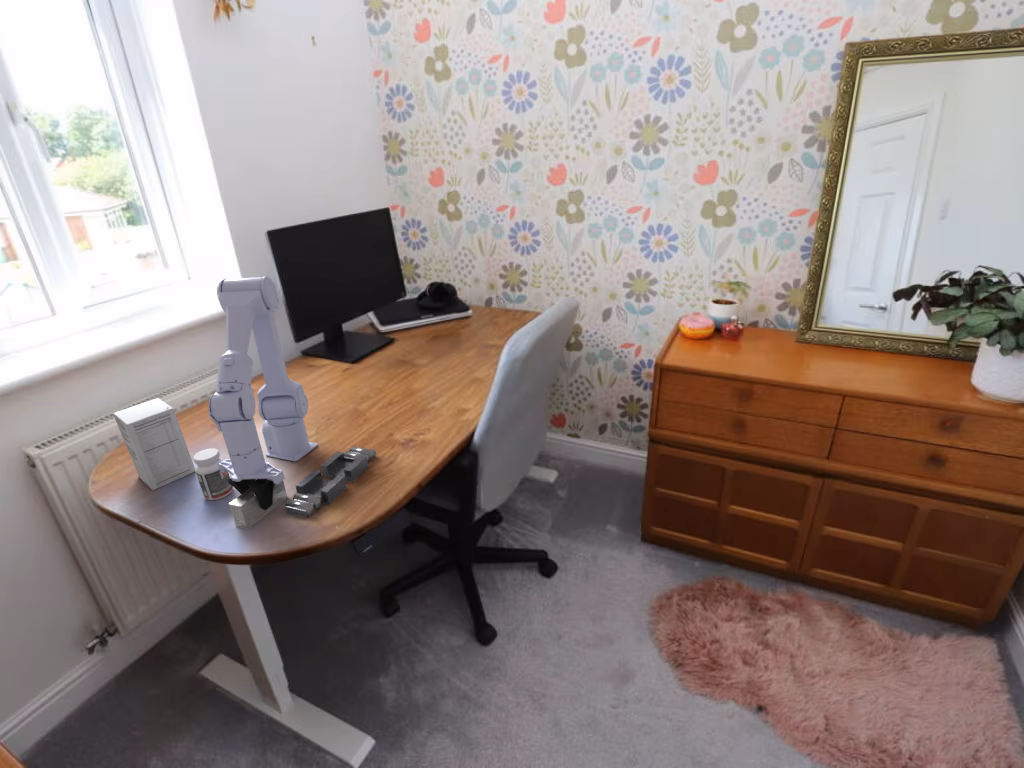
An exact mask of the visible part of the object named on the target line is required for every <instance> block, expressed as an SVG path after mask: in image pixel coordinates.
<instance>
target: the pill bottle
mask: <svg viewBox="0 0 1024 768" xmlns="http://www.w3.org/2000/svg"><path fill="white" fill-rule="evenodd" d="M224 460H225V459H223V458H222V457H221V454H220V451H219V450H218V449H217V448H214V447H213V448H206V449H203V450H200V451H198V452H196V453H195V454H194V456H193V462H194V463H195V464H196V465H195V466H194V467H195V472H194V473H195V475H196V478H197V481H198V484H199V486H200V489H201V493H202V495H203V498H204V499H206V500H208V501H216V500H221V499H223V498H225V497H227V496H228V495H230V494H231V493H232V492H233V489H234V487H233V486H232V485H230V484H229V482H228V480H229V479H230V478H231V476H230V473H229V472H228V471H226V472H221V471H220V468H219V465H218V464H219V463H221V462H222V461H224Z"/></svg>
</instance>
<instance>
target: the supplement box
mask: <svg viewBox="0 0 1024 768" xmlns="http://www.w3.org/2000/svg"><path fill="white" fill-rule="evenodd" d="M112 415H113V418H114V420H115V422H116V425H117V427H118V430H119V432H120V435H121V437H122V439H123V441H124V444H125V447H126V450H127V452H128V454H129V456H130V458H131V461H132V463H133V466H134V468H135V470H136V474H137V475H138V477H139V479H140V480H142V482H143V483H144V484H145V485H147V486H148V488H150V489H151V490H152V491H155V490H157V489H160V488H161V487H164V486H166V485H168V484H170V483H173V482H175V481H177V480H179V479H182V478H184V477H186V476H188V475H191V474H193V473H196V472H195V467H196V466H195V465H194V461H193V459H192V456H191V454H190V451H189V448H188V446H187V443H186V440H185V437H184V435H183V432H182V429H181V427H180V423H179V421H178V418H177V415H176V413H175V409H174V408H173V407H172V406H171V405H169V404H168V403H166V402H165V401H163V400H161V398H159V397H157V398H154V399H151V400H148V401H147V400H146V401H145V402H142V403H139V404H136V405H133V406H130V407H127V408H124V409H121V410H118V411H116V412H113V413H112Z"/></svg>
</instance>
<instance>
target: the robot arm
mask: <svg viewBox="0 0 1024 768" xmlns="http://www.w3.org/2000/svg"><path fill="white" fill-rule="evenodd" d="M216 294H217V295H216V296H217V299H218V301H219V305H220V307H221V309H222V310H223V312H224V313H225V314H226V317H225V318H226V320H225V321H226V322H225V323H226V327H225V328H226V329H225V330H226V352H225V353H223V354H222V355H220V357H219V359H218V360H219V361H218V370H217V379H216V388H215V393H214V394H212V395H211V396H210V397H209V401H208V411H209V413H208V415H209V418H210V419H211V421H212V422H213V423H214V424H215V425H216V429H217V430H218V431H219V432H221V433H222V436H223V440H224V443H225V448H226V449H227V453H228V456H229V459H228V458H225V459H223V460H224V461H222V462H221V463H219V464H218V465H219V468H220V471H221V472H226V471H228V473H229V475H231V476H230V479H229V480H228V482H229V484H230V485H232V486H233V489H236V491H237V492H238V493H239V495H241V494H242V493H244V492H245V491H246V490H248V489H249V488H250V489H251V490H252V491H253V492H254V493H255V495H256V496H257V498H258V501H259V503H260V506H261V507H262V509H263V510H267V509H268V508H269V507H270V506H271V505H273V490H274V486H275V484H279V483H280V482H281V481H284V480H285V479H286V478H285V474H284V471H283V470H281V469H278V468H277V467H275V466H273V464H270V462H268V461H266V460H265V456H266V457H272V458H276V459H282V460H286V461H292V462H297V461H299V460H301V458H303V457H304V456H306V455H307V454H309V453H310V452H311V451H313V449H315V448H316V447H318V446H319V445H318V443H317V442H312V441H309V437H308V434H307V433H308V432H307V428H306V424H305V420H304V418H305V417H306V415H307V414H308V411H309V401H308V397H307V394H306V393H305V390H304V387H303V385H302V384H301V383H299V382H297V381H296V380H292V379H291V378H289V377H288V372H287V368H286V363H285V359H284V355H283V350H282V345H281V341H280V336H279V331H278V328H277V327H278V325H277V322H276V318H275V312H277V311H279V310H280V309H281V307H280V300H279V296H278V295H279V294H278V290H277V286H276V284H275V282H274V281H273V280H272V279H271V277H270V276H267V275H263V276H262V277H261V276H259V277H257V276H256V277H243V278H242V277H241V278H239V277H238V278H221V279H220V280H219V282H218V283H217V286H216ZM252 333H253V337H254V341H255V345H256V349H257V353H258V358H259V362H260V366H261V371H262V375H263V378H264V384H263V385H262V386H261V387H260V388H259V390H258V391H257V394H256V397H257V405H256V398H255V391H254V388H252V378H253V376H252V375H253V365H254V364H253V363H254V361H253V359H252V357H250V355H249V354H248V350H249V345H250V340H251V335H252ZM256 407H257V411H258V414H259V416H260V418H261V419H262V420H263V423H262V430H261V432H262V436H263V439H264V442H265V443H264V444H265V446H266V450H267V452H266V453H265V456H264V452H263V449H262V444H261V441H260V437H259V435H258V431H257V427H256V426H257V425H256V423H255V419H254V416H255V413H256Z"/></svg>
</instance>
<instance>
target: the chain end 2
mask: <svg viewBox="0 0 1024 768" xmlns="http://www.w3.org/2000/svg"><path fill="white" fill-rule="evenodd" d="M376 457H377V452H376V450H375V449H371V448H364V447H359V446H354V445H353V446H351V447H350V448H349V451H346V450H345V452H342V451H336V452H335V453H334V454H333V455H331V456H330V457H329V458H328V459H326V460H325V461H324V462H323V463H322V464H320V465H319V466H320V471H321V475H322V478H323V477H324V478H329V479H332V480H333V479H334V478H335V477H336V476H338V475H341V476H345V479H346V483H347V482H349V483H353V484H354V482H355V481H356V480H357V479H358V478H360V477H361V475H362V474H364V473H365V472H366V471H367V470H368V469H369V464H370V462H371V460H375V459H376Z"/></svg>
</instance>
